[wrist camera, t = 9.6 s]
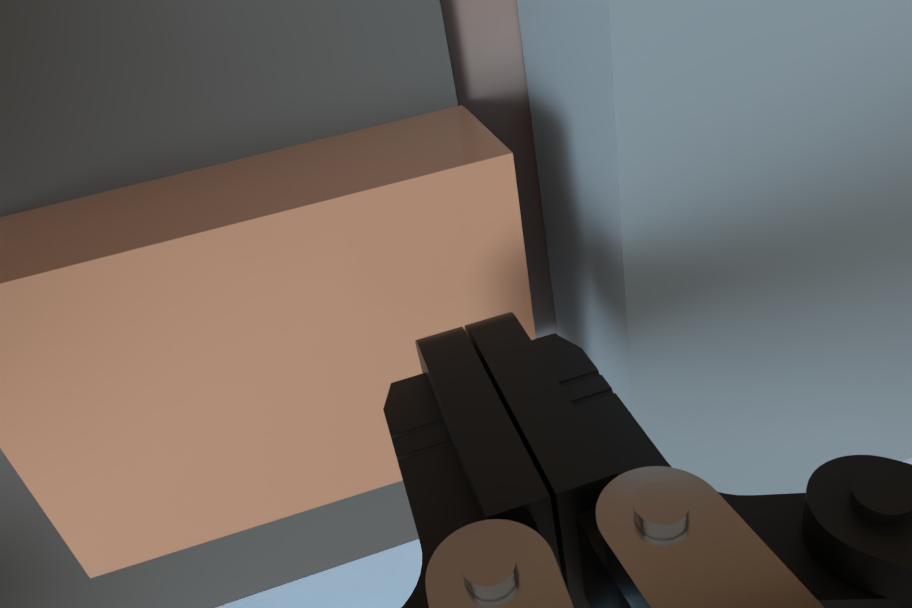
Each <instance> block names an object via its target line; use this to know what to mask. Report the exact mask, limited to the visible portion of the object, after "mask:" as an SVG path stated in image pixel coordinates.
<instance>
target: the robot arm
mask: <svg viewBox="0 0 912 608" xmlns="http://www.w3.org/2000/svg"><path fill="white" fill-rule="evenodd" d="M415 343H416V348H417V352H418V357H419V361H420V365H421V369H422V373H423V374H419V375H416V376H413V377H409V378H406V379H403V380H399V381H396V382H393V383H391V385H390V388H389V392H388V395H387V398H386V402H385V405H384V408H383V410H384V414H385V418H386V421H387V425H388V428H389V432H390V436H391V439H392V443H393V446H394V450H395V454H396V457H397V461H398V464H399V468H400V472H401V475H402V479H403V482H404V486H405V490H406V493H407V497H408V500H409V504H410V507H411V511H412V515H413V518H414V522H415V525H416V529H417V533H418V536H419V540H420V543H421V549H422V568H421V574H420V577H419V580H418V582H417V585H416V587H415V589H414V591H413V593H412V595H411V596H410V597H409V599H408V600H407V602H406V603H405V604H404V606H403V607H402V608H912V465H911V464H908V463H904V462H901V461H897V460H894V459H890V458H885V457H880V456H873V455H849V456H843V457H839V458H835V459H833V460H830V461H828V462H826V463H824V464H822V465H821V466H819V467H818V468H817V469H816V470H815V471H814V472H813V473H812V475H811V477H810V478H809V480H808V484H807V487H806V493H790V494H769V495H732V494H725V493H721V492H717V491H716V490H715V489H714V488H713V487H712V486H711V485H710V484H709V483H707V482H706V481H704V480H703V479H701V478H700V477H698V476H696V475H694V474H692V473H690V472H687V471H684V470H681V469H677V468H672V467H671V465H670V464H669V463H668V462H667V461H666V460H665V458H664V457H663V456H662V454H661V453H660V452H659V450H658V449H657V448H656V446H655V445H654V444H653V442H652V441H651V440H650V438H649V437H648V436H647V434H646V433H645V432H644V430H643V429H642V428H641V426H640V425H639V424H638V422H637V421H636V420H635V418H634V417H633V416H632V414H631V413H630V412H629V410H628V409H627V408H626V406H625V405H624V404H623V402H622V401H621V400H620V398H619V397H618V396H617V394H616V393H613V391H612V388H611V386H610V385H609V384H608V382H607V381H606V380H605V378H604V377H603V376H602V374H601V375H600V374H599V371H598V369H597V368H596V366H595V365H594V364H593V362H592V361H591V360H590V358H589V357H588V356H587V354H586V353H585V352H584V350H583V349H582V348H581V347H579V346H577V345H575V344H573V343H571V342H570V341H568V340H566V339H564V338H562V337H560V336H559V335H557V334H555V333H554V334H551V335H548V336H544V337H541V338H538V339H534V340H531V339H530V337H529V336H528V334H527V333H526V331H525V330H524V328H523V327H522V325H521V324H520V322H519V321H518V319H517V317H516V316H515V315H514V313H512V312H508V313H505V314H502V315H498V316H495V317H491V318H488V319H485V320H481V321H478V322H475V323H471V324H468V325H465V330H464V328H463V327H458V328H455V329H452V330H448V331H445V332H441V333H438V334H435V335H431V336H428V337H424V338H421V339H418V340H415Z"/></svg>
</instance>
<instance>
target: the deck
mask: <svg viewBox="0 0 912 608" xmlns="http://www.w3.org/2000/svg"><path fill="white" fill-rule="evenodd" d="M517 7H518V15H519V23H520V32H521V40H522V48H523V56H524V64H525V73H526V81H527V89H528V97H529V105H530V114H531V122H532V130H533V138H534V146H535V154H536V163H537V171H538V179H539V187H540V195H541V204H542V212H543V220H544V228H545V236H546V244H547V253H548V261H549V269H550V277H551V285H552V294H553V302H554V310H555V318H556V326H557V335H559V336H560V337H562V338H564V339H566V340H568V341H570V342H571V343H573V344H575V345H577V346H579V347H581V348H582V349H583V350H584V352H585V353H586V354H587V356H588V357H589V358H590V360H591V361H592V362H593V364H594V365H595V366H596V368H597V369H598V371H599V374H600V375H601V374H602V376H603V377H604V378H605V380H606V381H607V382H608V384H609V385H610V386H611V388H612V391H613V393H616V394H617V396H618V397H619V398H620V400H621V401H622V402H623V404H624V405H625V406H626V408H627V409H628V410H629V412H630V413H631V414H632V416H633V417H634V418H635V420H636V421H637V422H638V424H639V425H640V426H641V428H642V429H643V430H644V432H645V433H646V434H647V436H648V437H649V438H650V440H651V441H652V442H653V444H654V445H655V446H656V448H657V449H658V450H659V452H660V453H661V454H662V456H663V457H664V458H665V460H666V461H667V462H668V463H669V464H670V465H671V467H672V468H677V469H681V470H684V471H687V472H690V473H692V474H694V475H696V476H698V477H700V478H701V479H703V480H704V481H706V482H707V483H709V484H710V485H711V486H712V487H713V488H714V489H715V490H716V491H717V492H721V493H725V494H732V495H769V494H790V493H806V487H807V484H808V480H809V478H810V477H811V475H812V473H813V472H814V471H815V470H816V469H817V468H818V467H819V466H821V465H822V464H824V463H826V462H828V461H830V460H833V459H835V458H839V457H843V456H849V455H873V456H880V457H885V458H890V459H894V460H897V461H903V460H905V459H908V458H911V457H912V0H517Z"/></svg>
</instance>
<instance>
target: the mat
mask: <svg viewBox="0 0 912 608" xmlns="http://www.w3.org/2000/svg"><path fill="white" fill-rule="evenodd" d="M456 106H458V101H457V96H456V90H455V85H454V79H453V73H452V68H451V62H450V56H449V51H448V45H447V39H446V34H445V28H444V22H443V17H442V11H441V5H440V0H0V217H3V216H7V215H11V214H15V213H20V212H24V211H28V210H32V209H36V208H40V207H44V206H48V205H52V204H57V203H61V202H65V201H69V200H73V199H77V198H81V197H85V196H89V195H94V194H98V193H102V192H106V191H110V190H114V189H118V188H122V187H127V186H131V185H135V184H139V183H143V182H147V181H151V180H155V179H159V178H164V177H168V176H172V175H176V174H180V173H184V172H188V171H192V170H196V169H201V168H205V167H209V166H213V165H217V164H221V163H225V162H229V161H233V160H238V159H242V158H246V157H250V156H254V155H258V154H262V153H266V152H271V151H275V150H279V149H283V148H287V147H291V146H295V145H299V144H303V143H308V142H312V141H316V140H320V139H324V138H328V137H332V136H336V135H340V134H345V133H349V132H353V131H357V130H361V129H365V128H369V127H373V126H377V125H382V124H386V123H390V122H394V121H398V120H402V119H406V118H410V117H414V116H419V115H423V114H427V113H431V112H435V111H439V110H443V109H447V108H452V107H456ZM416 539H419V536H418V533H417V529H416V525H415V522H414V518H413V515H412V511H411V507H410V504H409V500H408V497H407V493H406V490H405V486H404V482H403V480H402V481H399V482H396V483H393V484H390V485H386V486H383V487H380V488H377V489H374V490H370V491H367V492H364V493H361V494H358V495H355V496H351V497H348V498H345V499H342V500H339V501H335V502H332V503H329V504H326V505H323V506H319V507H316V508H313V509H310V510H307V511H304V512H300V513H297V514H294V515H291V516H288V517H284V518H281V519H278V520H275V521H272V522H268V523H265V524H262V525H259V526H256V527H253V528H249V529H246V530H243V531H240V532H237V533H233V534H230V535H227V536H224V537H221V538H218V539H214V540H211V541H208V542H205V543H202V544H198V545H195V546H192V547H189V548H186V549H182V550H179V551H176V552H173V553H170V554H167V555H163V556H160V557H157V558H154V559H151V560H147V561H144V562H141V563H138V564H135V565H132V566H128V567H125V568H122V569H119V570H116V571H112V572H109V573H106V574H103V575H100V576H96V577H93V578H90V577H89V576H88V574H87V573H86V572H85V570H84V569H83V567H82V566H81V564H80V563H79V561H78V560H77V559H76V557H75V556H74V554H73V553H72V551H71V550H70V548H69V547H68V545H67V544H66V543H65V541H64V540H63V538H62V537H61V535H60V534H59V532H58V531H57V530H56V528H55V527H54V525H53V524H52V522H51V521H50V519H49V518H48V517H47V515H46V514H45V512H44V511H43V509H42V508H41V506H40V505H39V504H38V502H37V501H36V499H35V498H34V496H33V495H32V493H31V492H30V491H29V489H28V488H27V486H26V485H25V483H24V482H23V480H22V479H21V478H20V476H19V475H18V473H17V472H16V470H15V469H14V467H13V466H12V464H11V463H10V462H9V460H8V459H7V457H6V456H5V454H4V453H3V451H2V450H1V449H0V608H215V607H218V606H221V605H224V604H227V603H230V602H233V601H236V600H239V599H242V598H245V597H248V596H251V595H254V594H256V593H259V592H262V591H265V590H268V589H271V588H274V587H277V586H280V585H283V584H286V583H289V582H292V581H295V580H298V579H301V578H304V577H307V576H310V575H313V574H316V573H319V572H322V571H325V570H328V569H331V568H333V567H336V566H339V565H342V564H345V563H348V562H351V561H354V560H357V559H360V558H363V557H366V556H369V555H372V554H375V553H378V552H381V551H384V550H387V549H390V548H393V547H396V546H399V545H402V544H405V543H408V542H410V541H413V540H416Z"/></svg>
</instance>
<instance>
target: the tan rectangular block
mask: <svg viewBox="0 0 912 608" xmlns="http://www.w3.org/2000/svg"><path fill="white" fill-rule="evenodd" d="M508 312H512V313H514V315H515V316H516V317H517V319H518V321H519V322H520V324H521V325H522V327H523V328H524V330H525V331H526V333H527V334H528V336H529V337H530V339H531V340H534V339H536V335H535V327H534V319H533V311H532V303H531V295H530V287H529V279H528V270H527V262H526V254H525V246H524V238H523V230H522V222H521V214H520V206H519V198H518V190H517V182H516V174H515V166H514V158H513V152H511V151H510V150H509V149H508V148H507V147H506V146H505V145H504V144H503V143H502V142H501V141H500V140H499V139H498V138H497V137H496V136H495V135H494V134H493V133H492V132H490V131H489V130H488V129H487V128H486V127H485V126H484V125H483V124H482V123H481V122H480V121H479V120H478V119H477V118H476V117H475V116H474V115H473V114H472V113H471V112H470V111H468V110H467V109H466V108H465V107H464V106H463V105H460V106H456V107H452V108H447V109H443V110H439V111H435V112H431V113H427V114H423V115H419V116H414V117H410V118H406V119H402V120H398V121H394V122H390V123H386V124H382V125H377V126H373V127H369V128H365V129H361V130H357V131H353V132H349V133H345V134H340V135H336V136H332V137H328V138H324V139H320V140H316V141H312V142H308V143H303V144H299V145H295V146H291V147H287V148H283V149H279V150H275V151H271V152H266V153H262V154H258V155H254V156H250V157H246V158H242V159H238V160H233V161H229V162H225V163H221V164H217V165H213V166H209V167H205V168H201V169H196V170H192V171H188V172H184V173H180V174H176V175H172V176H168V177H164V178H159V179H155V180H151V181H147V182H143V183H139V184H135V185H131V186H127V187H122V188H118V189H114V190H110V191H106V192H102V193H98V194H94V195H89V196H85V197H81V198H77V199H73V200H69V201H65V202H61V203H57V204H52V205H48V206H44V207H40V208H36V209H32V210H28V211H24V212H20V213H15V214H11V215H7V216H3V217H0V449H1V450H2V451H3V453H4V454H5V456H6V457H7V459H8V460H9V462H10V463H11V464H12V466H13V467H14V469H15V470H16V472H17V473H18V475H19V476H20V478H21V479H22V480H23V482H24V483H25V485H26V486H27V488H28V489H29V491H30V492H31V493H32V495H33V496H34V498H35V499H36V501H37V502H38V504H39V505H40V506H41V508H42V509H43V511H44V512H45V514H46V515H47V517H48V518H49V519H50V521H51V522H52V524H53V525H54V527H55V528H56V530H57V531H58V532H59V534H60V535H61V537H62V538H63V540H64V541H65V543H66V544H67V545H68V547H69V548H70V550H71V551H72V553H73V554H74V556H75V557H76V559H77V560H78V561H79V563H80V564H81V566H82V567H83V569H84V570H85V572H86V573H87V574H88V576H89V577H90V578H93V577H96V576H100V575H103V574H106V573H109V572H112V571H116V570H119V569H122V568H125V567H128V566H132V565H135V564H138V563H141V562H144V561H147V560H151V559H154V558H157V557H160V556H163V555H167V554H170V553H173V552H176V551H179V550H182V549H186V548H189V547H192V546H195V545H198V544H202V543H205V542H208V541H211V540H214V539H218V538H221V537H224V536H227V535H230V534H233V533H237V532H240V531H243V530H246V529H249V528H253V527H256V526H259V525H262V524H265V523H268V522H272V521H275V520H278V519H281V518H284V517H288V516H291V515H294V514H297V513H300V512H304V511H307V510H310V509H313V508H316V507H319V506H323V505H326V504H329V503H332V502H335V501H339V500H342V499H345V498H348V497H351V496H355V495H358V494H361V493H364V492H367V491H370V490H374V489H377V488H380V487H383V486H386V485H390V484H393V483H396V482H399V481H402V480H403V479H402V475H401V472H400V468H399V464H398V461H397V457H396V454H395V450H394V446H393V443H392V439H391V436H390V432H389V428H388V425H387V421H386V418H385V414H384V410H383V408H384V405H385V402H386V398H387V395H388V392H389V388H390V385H391V383H393V382H396V381H399V380H403V379H406V378H409V377H413V376H416V375H419V374H423V373H422V369H421V365H420V361H419V357H418V352H417V348H416V343H415V340H418V339H421V338H424V337H428V336H431V335H435V334H438V333H441V332H445V331H448V330H452V329H455V328H458V327H463V328H464V330H465V325H468V324H471V323H475V322H478V321H481V320H485V319H488V318H491V317H495V316H498V315H502V314H505V313H508Z"/></svg>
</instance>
